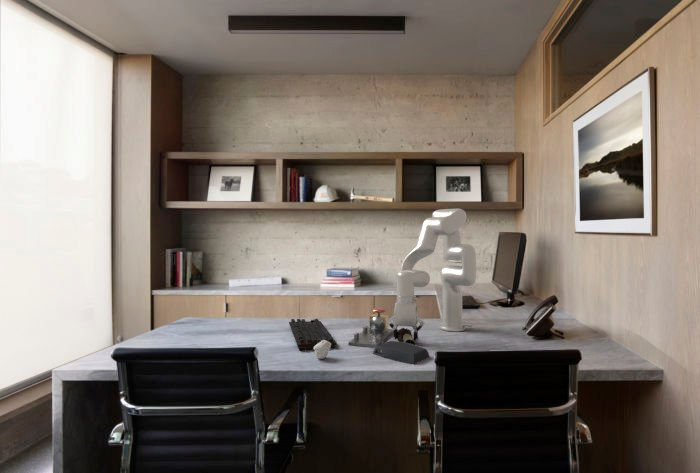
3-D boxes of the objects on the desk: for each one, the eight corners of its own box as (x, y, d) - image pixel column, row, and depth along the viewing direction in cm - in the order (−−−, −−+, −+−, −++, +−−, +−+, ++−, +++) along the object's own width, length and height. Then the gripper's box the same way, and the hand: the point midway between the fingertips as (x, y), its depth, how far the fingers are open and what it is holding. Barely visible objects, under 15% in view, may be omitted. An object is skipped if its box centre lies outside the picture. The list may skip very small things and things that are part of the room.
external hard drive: (391, 348, 168) (391, 338, 168) (431, 358, 154) (431, 347, 154) (371, 355, 158) (371, 345, 158) (412, 366, 145) (412, 355, 145)
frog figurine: (333, 359, 151) (333, 341, 151) (315, 362, 149) (315, 343, 149) (328, 355, 157) (328, 337, 157) (311, 357, 155) (311, 339, 155)
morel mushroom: (416, 350, 164) (415, 336, 163) (399, 350, 164) (399, 336, 164) (411, 338, 181) (410, 325, 181) (396, 338, 181) (396, 325, 181)
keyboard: (336, 349, 166) (336, 337, 166) (297, 352, 162) (297, 340, 162) (320, 326, 207) (320, 316, 207) (288, 328, 203) (288, 318, 203)
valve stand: (393, 331, 193) (393, 308, 193) (377, 347, 166) (377, 321, 166) (368, 329, 198) (368, 307, 198) (348, 345, 171) (348, 319, 171)
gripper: (426, 299, 175) (426, 339, 175) (388, 297, 181) (388, 335, 181) (423, 302, 168) (423, 343, 168) (384, 300, 174) (384, 340, 174)
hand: (405, 339), depth 174 cm, fingers closed on morel mushroom, 8 cm apart
